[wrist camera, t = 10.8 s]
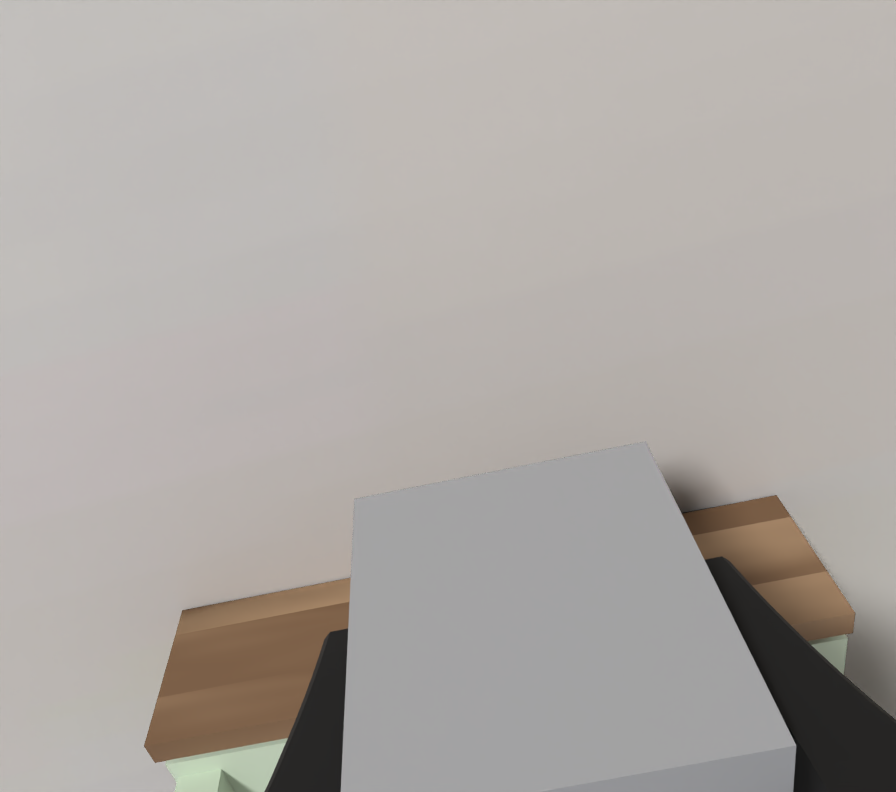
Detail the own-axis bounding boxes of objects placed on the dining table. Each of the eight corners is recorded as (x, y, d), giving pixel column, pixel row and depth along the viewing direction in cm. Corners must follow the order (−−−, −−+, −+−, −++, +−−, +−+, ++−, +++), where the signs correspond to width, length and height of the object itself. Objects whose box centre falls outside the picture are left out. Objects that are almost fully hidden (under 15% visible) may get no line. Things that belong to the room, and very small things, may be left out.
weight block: (658, 625, 14) (783, 945, 10) (410, 672, 14) (424, 1006, 10) (645, 441, 12) (796, 745, 7) (354, 499, 12) (339, 827, 8)
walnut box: (766, 760, 25) (822, 885, 22) (306, 842, 26) (295, 977, 23) (776, 495, 19) (855, 613, 16) (182, 610, 20) (144, 746, 17)
